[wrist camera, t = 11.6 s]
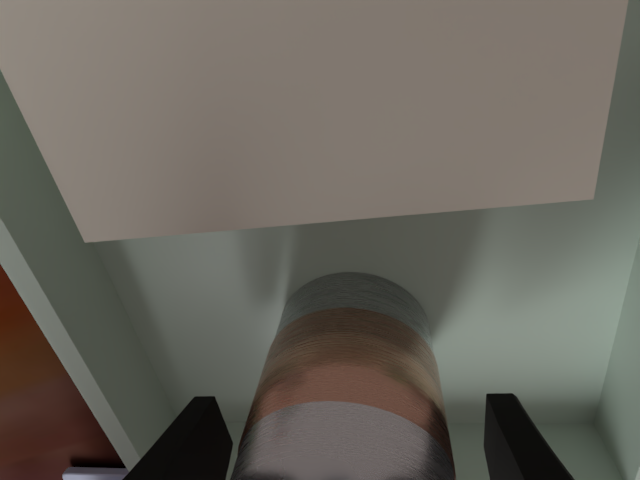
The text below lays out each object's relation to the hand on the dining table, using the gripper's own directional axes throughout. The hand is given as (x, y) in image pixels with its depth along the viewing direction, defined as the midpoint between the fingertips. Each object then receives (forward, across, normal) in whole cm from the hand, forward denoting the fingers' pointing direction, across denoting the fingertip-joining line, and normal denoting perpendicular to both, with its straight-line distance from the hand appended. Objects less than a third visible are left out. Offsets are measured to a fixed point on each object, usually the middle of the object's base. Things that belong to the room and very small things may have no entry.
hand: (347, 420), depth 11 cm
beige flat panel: (+3, 0, -9) cm, 10 cm away
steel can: (+3, 0, 0) cm, 3 cm away
